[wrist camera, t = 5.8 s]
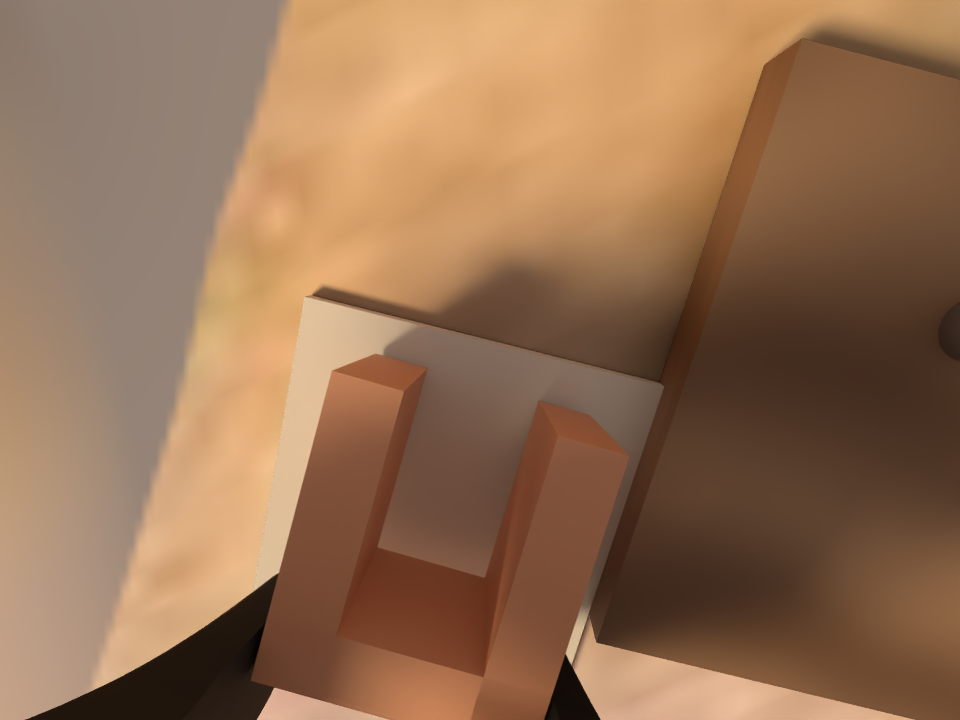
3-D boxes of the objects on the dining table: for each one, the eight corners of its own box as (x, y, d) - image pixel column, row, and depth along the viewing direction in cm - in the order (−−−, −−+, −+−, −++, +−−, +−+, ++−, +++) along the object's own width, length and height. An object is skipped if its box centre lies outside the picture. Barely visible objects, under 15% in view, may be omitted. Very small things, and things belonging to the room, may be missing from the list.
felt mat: (561, 677, 15) (563, 688, 15) (255, 603, 15) (249, 612, 15) (659, 382, 13) (664, 386, 13) (310, 295, 13) (304, 296, 13)
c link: (519, 638, 13) (531, 759, 10) (314, 580, 13) (250, 680, 10) (589, 415, 13) (629, 456, 9) (375, 353, 13) (331, 370, 9)
